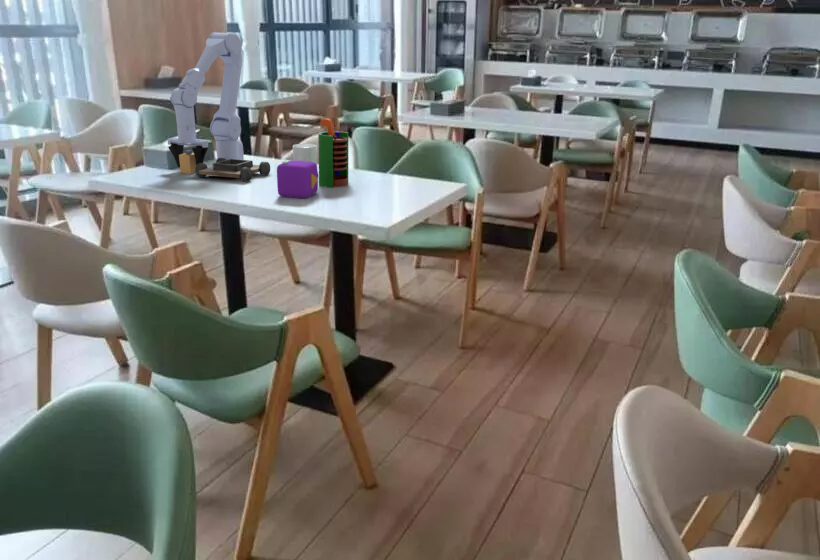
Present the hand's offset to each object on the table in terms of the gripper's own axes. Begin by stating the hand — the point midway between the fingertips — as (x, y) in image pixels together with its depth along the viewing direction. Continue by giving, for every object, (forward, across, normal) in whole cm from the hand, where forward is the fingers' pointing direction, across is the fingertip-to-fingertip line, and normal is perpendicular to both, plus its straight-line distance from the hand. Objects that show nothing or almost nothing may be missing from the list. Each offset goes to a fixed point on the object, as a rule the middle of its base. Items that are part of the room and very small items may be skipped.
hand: (190, 167), depth 227 cm
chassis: (+1, +17, 0) cm, 17 cm away
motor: (+2, +52, +2) cm, 52 cm away
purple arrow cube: (+2, +49, -14) cm, 51 cm away
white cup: (+2, +38, +10) cm, 39 cm away
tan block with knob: (+2, 0, 0) cm, 2 cm away
